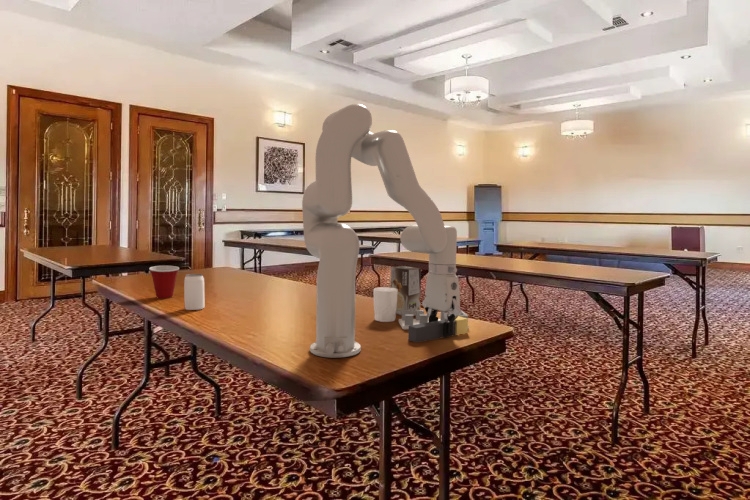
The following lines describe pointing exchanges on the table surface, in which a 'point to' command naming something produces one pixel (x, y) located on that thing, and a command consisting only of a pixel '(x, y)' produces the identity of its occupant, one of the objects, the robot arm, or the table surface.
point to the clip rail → (420, 318)
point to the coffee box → (407, 288)
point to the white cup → (385, 304)
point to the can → (194, 292)
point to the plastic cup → (164, 280)
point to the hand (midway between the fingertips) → (440, 332)
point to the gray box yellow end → (436, 329)
